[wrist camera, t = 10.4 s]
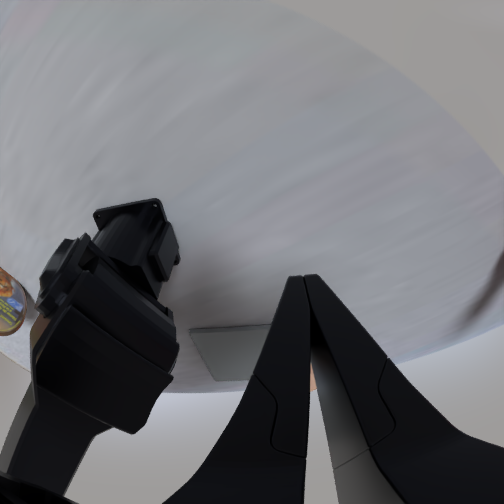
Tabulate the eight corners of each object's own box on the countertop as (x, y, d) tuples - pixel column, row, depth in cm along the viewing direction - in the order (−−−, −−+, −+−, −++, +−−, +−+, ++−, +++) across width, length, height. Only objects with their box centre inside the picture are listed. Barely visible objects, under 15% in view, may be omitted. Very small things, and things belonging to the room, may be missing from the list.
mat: (215, 377, 39) (215, 381, 39) (189, 329, 31) (189, 333, 31) (335, 368, 38) (335, 371, 37) (347, 315, 30) (348, 319, 29)
